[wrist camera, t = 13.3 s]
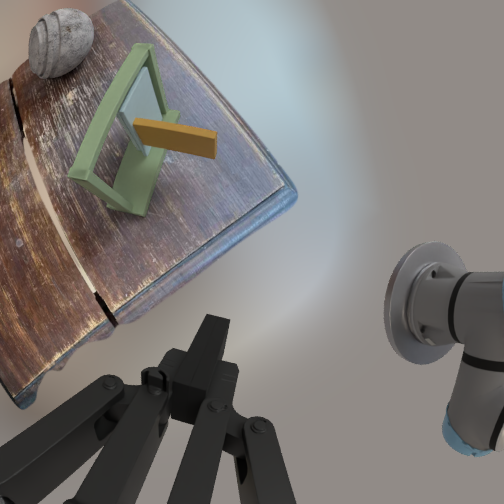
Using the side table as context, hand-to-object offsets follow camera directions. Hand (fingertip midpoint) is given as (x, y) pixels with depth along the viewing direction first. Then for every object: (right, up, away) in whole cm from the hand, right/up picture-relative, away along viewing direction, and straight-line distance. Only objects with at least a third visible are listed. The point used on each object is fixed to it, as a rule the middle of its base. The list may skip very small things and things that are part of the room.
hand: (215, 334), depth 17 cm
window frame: (-14, +19, +21) cm, 31 cm away
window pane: (-7, +21, +20) cm, 30 cm away
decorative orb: (-34, +44, +20) cm, 59 cm away
